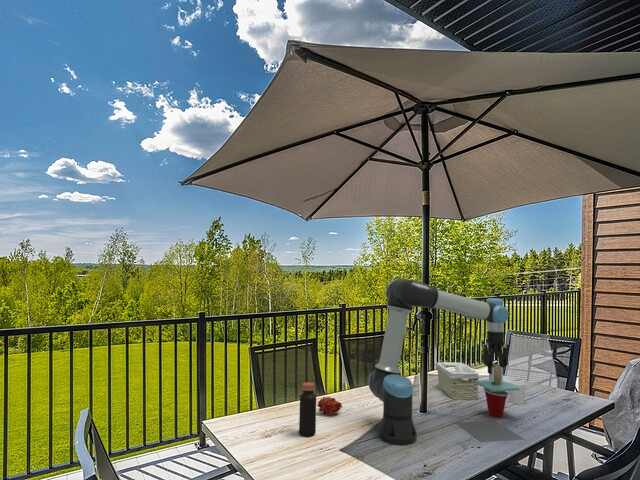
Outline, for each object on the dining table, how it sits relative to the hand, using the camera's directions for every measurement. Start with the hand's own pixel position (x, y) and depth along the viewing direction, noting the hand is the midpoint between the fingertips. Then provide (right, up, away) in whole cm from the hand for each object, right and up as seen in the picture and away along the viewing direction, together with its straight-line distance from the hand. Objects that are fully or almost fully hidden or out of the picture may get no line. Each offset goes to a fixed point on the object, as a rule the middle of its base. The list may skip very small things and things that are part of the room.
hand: (495, 380), depth 187 cm
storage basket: (-7, -19, +33) cm, 39 cm away
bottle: (-89, -13, -26) cm, 94 cm away
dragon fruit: (-79, -15, -3) cm, 81 cm away
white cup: (+20, -19, +20) cm, 34 cm away
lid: (0, -3, 0) cm, 3 cm away
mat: (-12, -15, -20) cm, 28 cm away
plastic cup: (0, -17, -1) cm, 17 cm away
